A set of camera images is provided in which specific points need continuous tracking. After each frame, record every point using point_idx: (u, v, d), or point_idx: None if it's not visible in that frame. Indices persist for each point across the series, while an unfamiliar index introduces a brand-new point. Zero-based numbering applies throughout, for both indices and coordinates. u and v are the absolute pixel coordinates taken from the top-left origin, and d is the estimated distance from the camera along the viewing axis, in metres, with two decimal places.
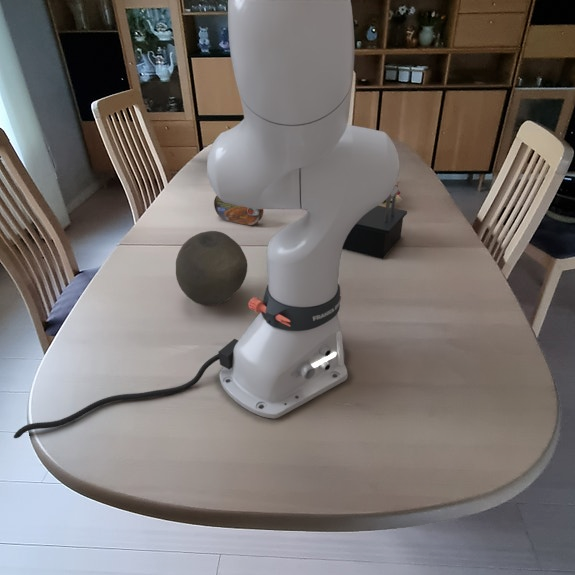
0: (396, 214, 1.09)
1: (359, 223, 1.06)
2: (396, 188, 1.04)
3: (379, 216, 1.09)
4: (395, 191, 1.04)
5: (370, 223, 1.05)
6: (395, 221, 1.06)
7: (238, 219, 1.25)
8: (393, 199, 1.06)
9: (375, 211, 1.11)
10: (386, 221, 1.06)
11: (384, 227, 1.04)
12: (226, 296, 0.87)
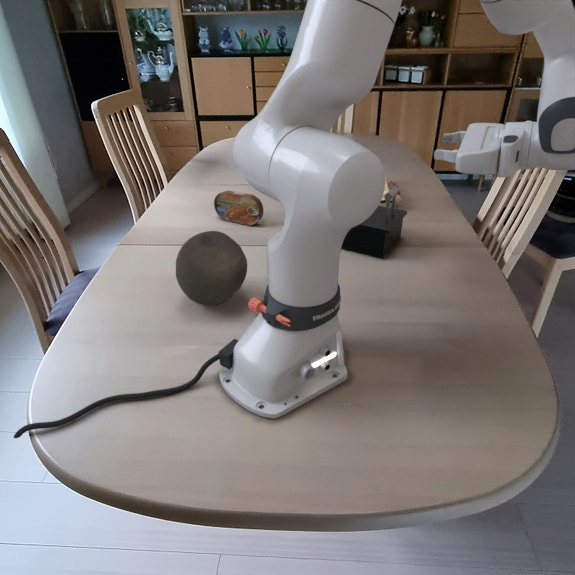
0: (396, 214, 1.09)
1: None
2: (396, 188, 1.04)
3: (379, 216, 1.09)
4: (395, 191, 1.04)
5: (370, 223, 1.05)
6: (395, 221, 1.06)
7: (238, 219, 1.25)
8: (393, 199, 1.06)
9: (375, 211, 1.11)
10: (386, 221, 1.06)
11: (384, 227, 1.04)
12: (226, 296, 0.87)
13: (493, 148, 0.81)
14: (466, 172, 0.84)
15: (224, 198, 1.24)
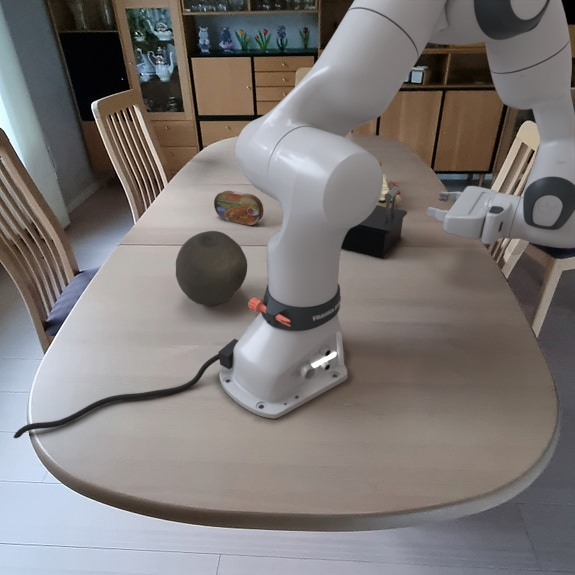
0: (396, 214, 1.09)
1: None
2: (396, 188, 1.04)
3: (379, 216, 1.09)
4: (395, 191, 1.04)
5: (370, 223, 1.05)
6: (395, 221, 1.06)
7: (238, 219, 1.25)
8: (393, 199, 1.06)
9: (375, 211, 1.11)
10: (386, 221, 1.06)
11: (384, 227, 1.04)
12: (226, 296, 0.87)
13: (479, 216, 0.88)
14: (452, 233, 0.91)
15: (224, 198, 1.24)
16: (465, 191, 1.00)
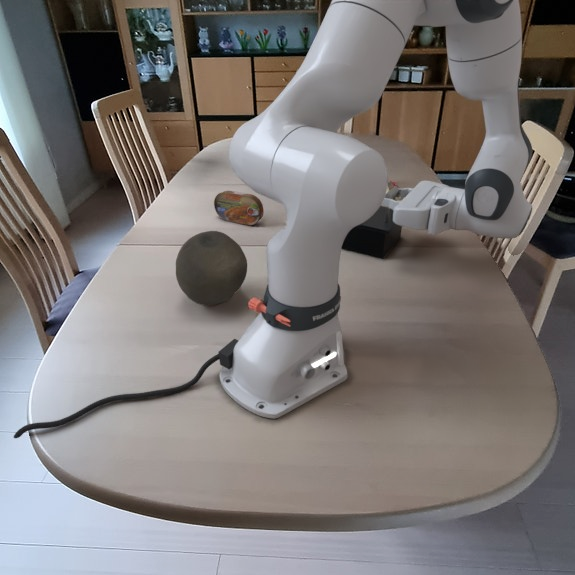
0: None
1: None
2: (396, 188, 1.04)
3: (379, 216, 1.09)
4: (395, 191, 1.04)
5: (370, 223, 1.05)
6: None
7: (238, 219, 1.25)
8: (393, 199, 1.06)
9: None
10: (386, 221, 1.06)
11: (384, 227, 1.04)
12: (226, 296, 0.87)
13: (424, 208, 0.93)
14: (400, 224, 0.96)
15: (224, 198, 1.24)
16: (418, 185, 1.05)
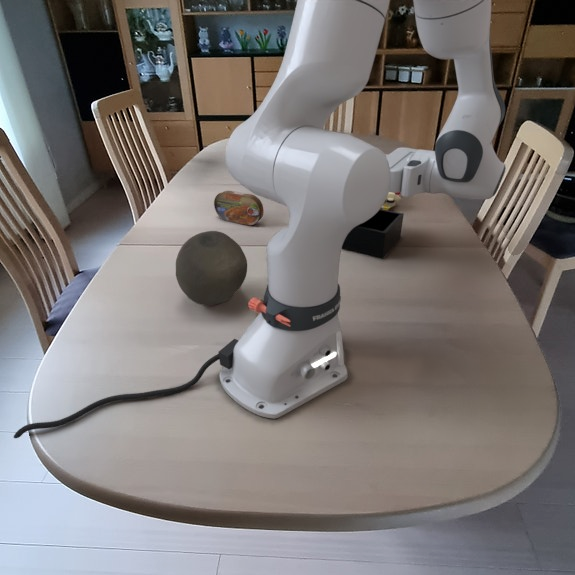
0: None
1: None
2: None
3: None
4: None
5: None
6: None
7: (238, 219, 1.25)
8: None
9: None
10: None
11: None
12: (226, 296, 0.87)
13: (397, 169, 0.92)
14: None
15: (224, 198, 1.24)
16: (394, 151, 1.04)
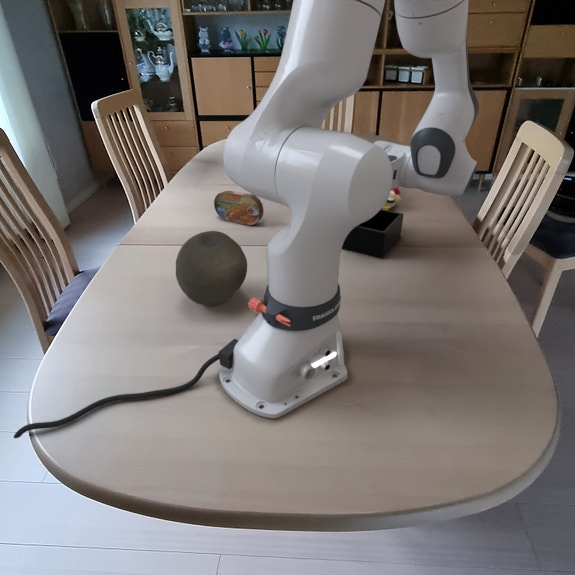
0: None
1: None
2: None
3: None
4: None
5: None
6: None
7: (238, 219, 1.25)
8: None
9: None
10: None
11: None
12: (226, 296, 0.87)
13: None
14: None
15: (224, 198, 1.24)
16: None
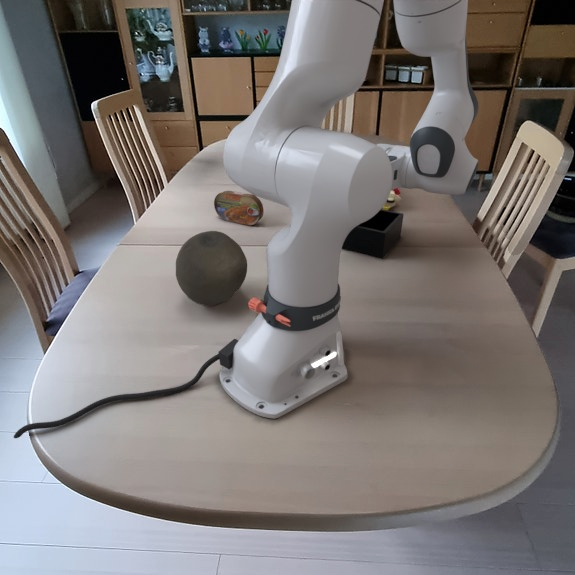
0: None
1: None
2: None
3: None
4: None
5: None
6: None
7: (238, 219, 1.25)
8: None
9: None
10: None
11: None
12: (226, 296, 0.87)
13: None
14: None
15: (224, 198, 1.24)
16: None
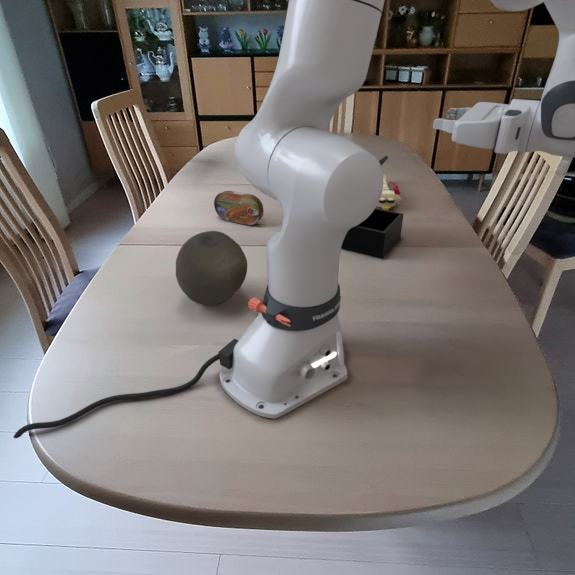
0: None
1: None
2: None
3: None
4: None
5: None
6: None
7: (238, 219, 1.25)
8: None
9: None
10: None
11: None
12: (226, 296, 0.87)
13: (493, 119, 0.77)
14: (462, 143, 0.80)
15: (224, 198, 1.24)
16: (476, 105, 0.90)
